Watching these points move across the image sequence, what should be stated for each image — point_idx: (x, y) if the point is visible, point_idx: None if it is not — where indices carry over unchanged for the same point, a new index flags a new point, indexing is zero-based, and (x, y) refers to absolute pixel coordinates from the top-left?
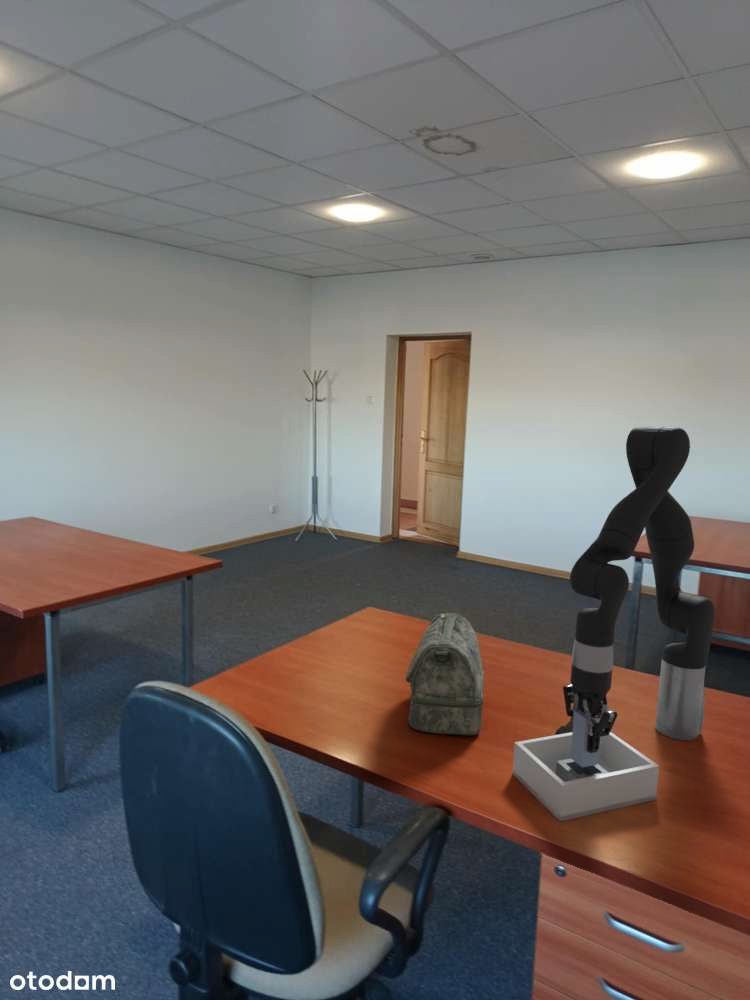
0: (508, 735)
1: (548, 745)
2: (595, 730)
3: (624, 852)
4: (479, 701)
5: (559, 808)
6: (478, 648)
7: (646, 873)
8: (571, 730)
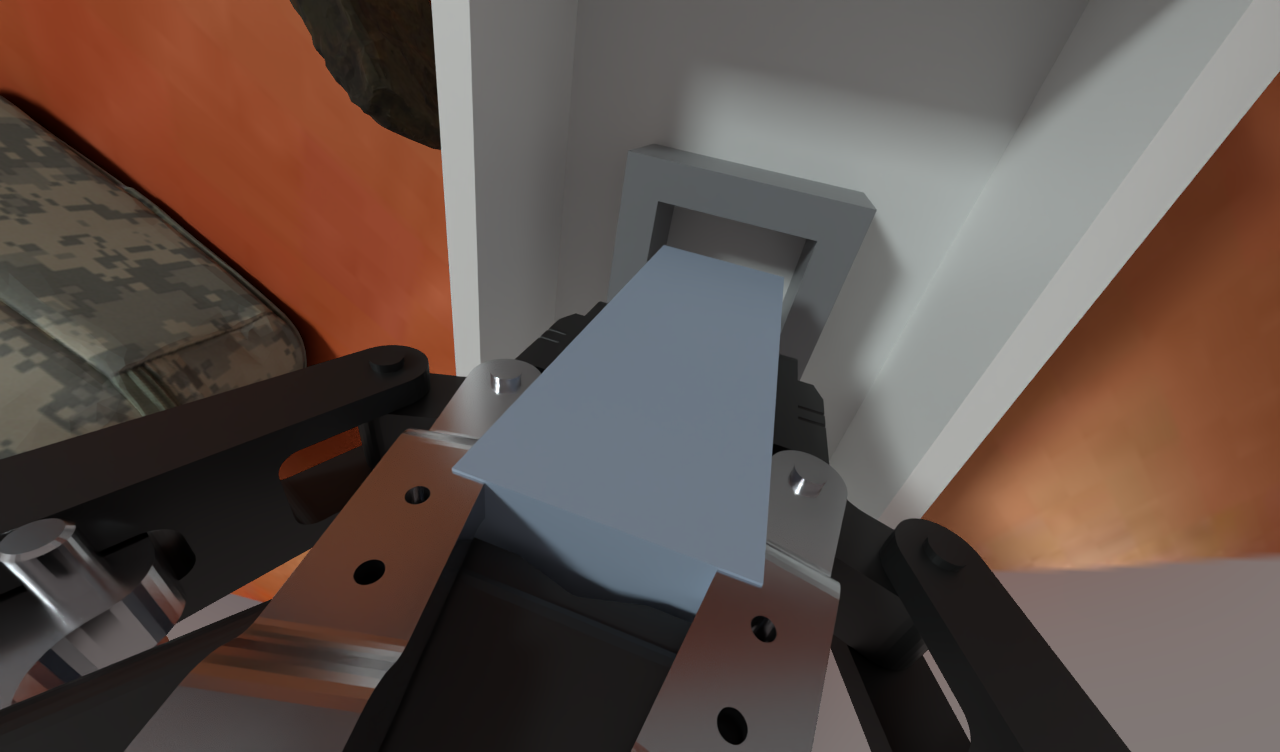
0: (299, 210)
1: (502, 345)
2: (838, 659)
3: (1118, 499)
4: (143, 399)
5: None
6: None
7: (1259, 544)
8: None
